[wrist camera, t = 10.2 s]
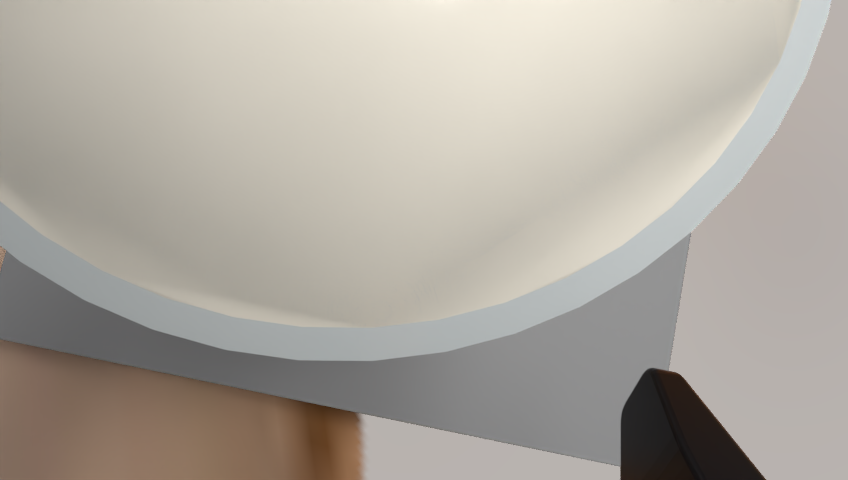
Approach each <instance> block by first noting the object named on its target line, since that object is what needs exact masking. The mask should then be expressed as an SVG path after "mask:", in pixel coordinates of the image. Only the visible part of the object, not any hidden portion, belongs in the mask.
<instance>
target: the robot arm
mask: <svg viewBox="0 0 848 480" xmlns="http://www.w3.org/2000/svg"><path fill="white" fill-rule="evenodd" d="M621 480H766V479H765V478H764V477H763V475H761V473H760V472H759V471H758V469H757V468H756V467H755V465H754V464H753V463H752V462H751V461H750V460H749V458H748V457H747V456H746V455H745V453H744V452H743V451H742V449H741V448H740V447H739V446H738V444H737V443H736V442H735V441H734V440H733V438H732V437H731V436H730V435H729V434H728V432H727V431H726V430H725V428H724V427H723V426H722V425H721V423H720V422H719V421H718V420H717V419H716V417H715V416H714V415H713V414H712V412H711V411H710V410H709V409H708V407H707V406H706V405H705V404H704V403H703V401H702V400H701V399H700V398H699V396H698V395H697V394H696V393H695V391H694V390H693V389H692V388H691V386H690V385H689V384H688V383H687V382H686V380H685V379H684V378H683V377H682V376H681V375H680V374H678V373H676V372H671V371H667V370H662V369H657V368H649V369H647V370H646V371H645V372H644V373H643V374H642V376H641V377H640V379H639V381H638V382H637V384H636V386H635V387H634V389H633V391H632V392H631V394H630V396H629V397H628V399H627V401H626V402H625V404H624V407H623V410H622V414H621Z"/></svg>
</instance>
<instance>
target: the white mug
mask: <svg viewBox="0 0 848 480" xmlns="http://www.w3.org/2000/svg"><path fill="white" fill-rule="evenodd" d="M830 5H831V0H0V246H1V247H3V248H4V249H5V250H6V251H8V252H9V253H10V254H11V255H13V256H14V257H15V258H16V259H18V260H19V261H20V262H22V263H23V264H25V265H27V266H28V267H30V268H32V269H33V270H35V271H37V272H38V273H40V274H42V275H43V276H45V277H47V278H48V279H50V280H52V281H53V282H55V283H57V284H58V285H60V286H62V287H63V288H65V289H67V290H68V291H70V292H72V293H73V294H75V295H77V296H78V297H80V298H82V299H83V300H85V301H87V302H90V303H92V304H94V305H97V306H99V307H101V308H104V309H106V310H108V311H111V312H113V313H115V314H118V315H120V316H122V317H125V318H127V319H129V320H132V321H134V322H136V323H139V324H141V325H143V326H146V327H148V328H150V329H153V330H156V331H160V332H163V333H167V334H170V335H174V336H177V337H181V338H185V339H188V340H192V341H195V342H199V343H202V344H206V345H210V346H213V347H217V348H220V349H224V350H230V351H237V352H244V353H251V354H258V355H265V356H272V357H279V358H286V359H293V360H320V361H377V360H385V359H393V358H401V357H409V356H417V355H425V354H433V353H441V352H447V351H451V350H455V349H459V348H462V347H466V346H470V345H474V344H478V343H482V342H485V341H489V340H493V339H497V338H501V337H504V336H508V335H512V334H515V333H518V332H520V331H523V330H525V329H528V328H530V327H532V326H535V325H537V324H540V323H542V322H545V321H547V320H549V319H552V318H554V317H557V316H559V315H562V314H564V313H567V312H569V311H571V310H574V309H576V308H579V307H581V306H582V305H584V304H586V303H588V302H589V301H591V300H593V299H595V298H596V297H598V296H600V295H601V294H603V293H605V292H607V291H608V290H610V289H612V288H613V287H615V286H617V285H619V284H620V283H622V282H624V281H626V280H627V279H629V278H631V277H632V276H634V275H636V274H638V273H639V272H641V271H642V270H643V269H644V268H646V267H647V266H648V265H650V264H651V263H652V262H653V261H655V260H656V259H657V258H659V257H660V256H661V255H662V254H664V253H665V252H666V251H668V250H669V249H670V248H671V247H673V246H674V245H675V244H677V243H678V242H679V241H680V240H682V239H683V238H684V237H686V236H687V235H688V234H689V233H691V232H692V231H693V230H694V229H695V228H696V227H697V226H698V225H699V224H700V223H701V222H702V221H703V220H704V218H706V217H707V216H708V215H709V213H710V212H711V211H712V210H713V209H714V208H715V207H716V206H717V205H718V204H719V203H720V202H721V201H722V200H723V199H724V198H725V197H726V196H727V195H728V194H729V193H730V192H731V191H732V190H733V189H734V188H735V187H736V186H737V185H738V184H739V182H740V181H741V179H742V178H743V177H744V175H745V174H746V173H747V171H748V170H749V168H750V167H751V166H752V164H753V163H754V162H755V160H756V159H757V157H758V156H759V155H760V153H761V152H762V151H763V149H764V148H765V147H766V145H767V144H768V142H769V141H770V140H771V138H772V137H773V136H774V134H775V133H776V131H777V130H778V128H779V126H780V124H781V122H782V120H783V118H784V117H785V115H786V113H787V111H788V109H789V107H790V105H791V103H792V102H793V100H794V98H795V96H796V94H797V92H798V90H799V89H800V87H801V85H802V83H803V81H804V79H805V77H806V75H807V72H808V70H809V67H810V64H811V62H812V59H813V56H814V53H815V50H816V48H817V45H818V43H819V40H820V36H821V34H822V32H823V29H824V26H825V24H826V21H827V18H828V14H829V9H830Z"/></svg>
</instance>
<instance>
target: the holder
mask: <svg viewBox="0 0 848 480" xmlns="http://www.w3.org/2000/svg"><path fill="white" fill-rule="evenodd" d="M690 237H691V233H689V234H688V235H687V236H686V237H684V238H683V239H682V240H680V241H679V242H678V243H677V244H675V245H674V246H673V247H671V248H670V249H669V250H668V251H666V252H665V253H664V254H662V255H661V256H660V257H659V258H657V259H656V260H655V261H653V262H652V263H651V264H650V265H648V266H647V267H646V268H644V269H643V270H642V271H641V272H639V273H638V274H636V275H634V276H632V277H631V278H629V279H627V280H626V281H624V282H622V283H620V284H619V285H617V286H615V287H613V288H612V289H610V290H608V291H607V292H605V293H603V294H601V295H600V296H598V297H596V298H595V299H593V300H591V301H589V302H588V303H586V304H584V305H582V306H581V307H579V308H576V309H574V310H571V311H569V312H567V313H564V314H562V315H559V316H557V317H554V318H552V319H549V320H547V321H545V322H542V323H540V324H537V325H535V326H532V327H530V328H528V329H525V330H523V331H520V332H518V333H515V334H512V335H508V336H504V337H501V338H497V339H493V340H489V341H485V342H482V343H478V344H474V345H470V346H466V347H462V348H459V349H455V350H451V351H447V352H441V353H433V354H425V355H417V356H409V357H401V358H393V359H385V360H377V361H320V360H293V359H286V358H279V357H272V356H265V355H258V354H251V353H244V352H237V351H230V350H224V349H220V348H217V347H213V346H210V345H206V344H202V343H199V342H195V341H192V340H188V339H185V338H181V337H177V336H174V335H170V334H167V333H163V332H160V331H156V330H153V329H150V328H148V327H146V326H143V325H141V324H139V323H136V322H134V321H132V320H129V319H127V318H125V317H122V316H120V315H118V314H115V313H113V312H111V311H108V310H106V309H104V308H101V307H99V306H97V305H94V304H92V303H90V302H87V301H85V300H83V299H82V298H80V297H78V296H77V295H75V294H73V293H72V292H70V291H68V290H67V289H65V288H63V287H62V286H60V285H58V284H57V283H55V282H53V281H52V280H50V279H48V278H47V277H45V276H43V275H42V274H40V273H38V272H37V271H35V270H33V269H32V268H30V267H28V266H27V265H25V264H23V263H22V262H20V261H19V260H18V259H16V258H15V257H14V256H13V255H11V254H10V253H9V252H8V251H6V254H5V257H4V261H3V264H2V268H1V271H0V339H2V340H7V341H11V342H16V343H21V344H26V345H31V346H36V347H41V348H46V349H50V350H55V351H60V352H65V353H70V354H75V355H80V356H84V357H89V358H94V359H99V360H104V361H109V362H114V363H119V364H123V365H128V366H133V367H138V368H143V369H148V370H153V371H158V372H162V373H167V374H172V375H177V376H182V377H187V378H192V379H197V380H201V381H206V382H211V383H216V384H221V385H226V386H231V387H236V388H240V389H245V390H250V391H255V392H260V393H265V394H270V395H274V396H279V397H284V398H289V399H294V400H299V401H304V402H309V403H313V404H318V405H323V406H328V407H333V408H338V409H343V410H348V411H352V412H357V413H362V414H367V415H372V416H377V417H382V418H387V419H391V420H396V421H401V422H406V423H411V424H416V425H421V426H426V427H430V428H435V429H440V430H445V431H450V432H455V433H460V434H464V435H470V436H474V437H479V438H484V439H489V440H494V441H499V442H503V443H508V444H513V445H518V446H523V447H528V448H533V449H538V450H542V451H547V452H553V453H557V454H562V455H567V456H572V457H577V458H581V459H587V460H591V461H596V462H601V463H606V464H611V465H616V466H620V467H621V414H622V410H623V407H624V404H625V402H626V401H627V399H628V397H629V396H630V394H631V392H632V391H633V389H634V387H635V386H636V384H637V382H638V381H639V379H640V377H641V376H642V374H643V373H644V372H645V371H646V370H647V369H649V368H657V369H662V370H667V371H669V365H670V359H671V353H672V347H673V341H674V334H675V328H676V322H677V316H678V310H679V304H680V298H681V292H682V286H683V279H684V273H685V267H686V261H687V255H688V249H689V242H690Z"/></svg>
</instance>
